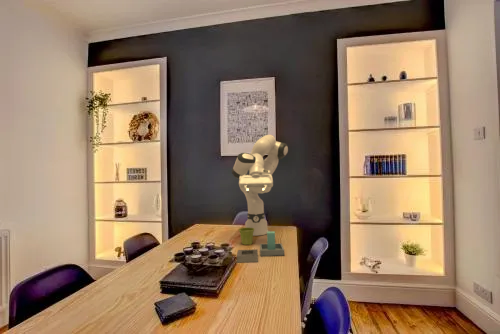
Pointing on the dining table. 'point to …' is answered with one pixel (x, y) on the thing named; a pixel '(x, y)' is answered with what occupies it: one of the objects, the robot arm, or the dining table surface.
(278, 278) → the dining table surface
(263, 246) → the parts tray
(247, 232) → the plant pot
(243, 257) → the grey flat square block
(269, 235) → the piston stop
